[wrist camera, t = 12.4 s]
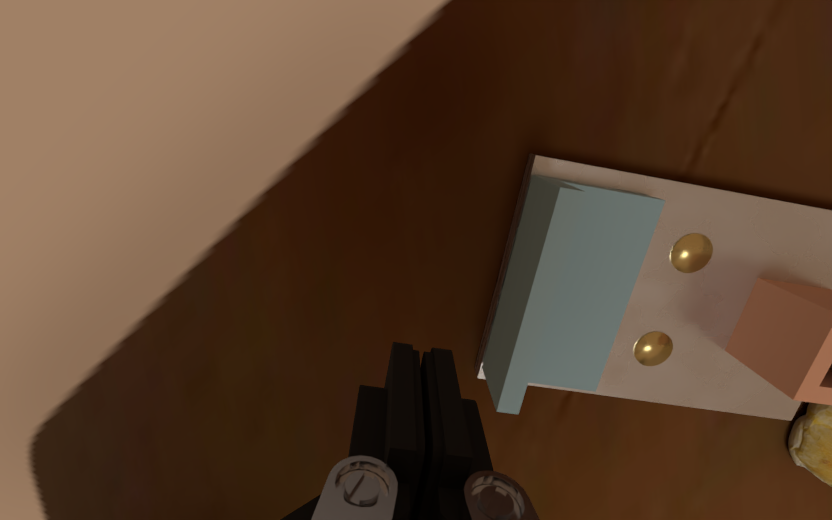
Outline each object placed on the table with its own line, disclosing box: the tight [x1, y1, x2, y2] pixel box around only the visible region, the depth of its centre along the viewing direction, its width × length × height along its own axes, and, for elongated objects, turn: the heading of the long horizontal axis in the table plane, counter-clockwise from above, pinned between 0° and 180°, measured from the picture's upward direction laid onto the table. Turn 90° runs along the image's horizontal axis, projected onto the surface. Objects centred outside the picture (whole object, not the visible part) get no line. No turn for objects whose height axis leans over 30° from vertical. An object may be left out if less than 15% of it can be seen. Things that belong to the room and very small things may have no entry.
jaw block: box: [725, 278, 832, 405], centre depth 24 cm, size 5×5×5 cm
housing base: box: [475, 153, 832, 421], centre depth 23 cm, size 22×14×8 cm, turn 80°
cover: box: [482, 175, 666, 414], centre depth 23 cm, size 7×12×4 cm, turn 170°
